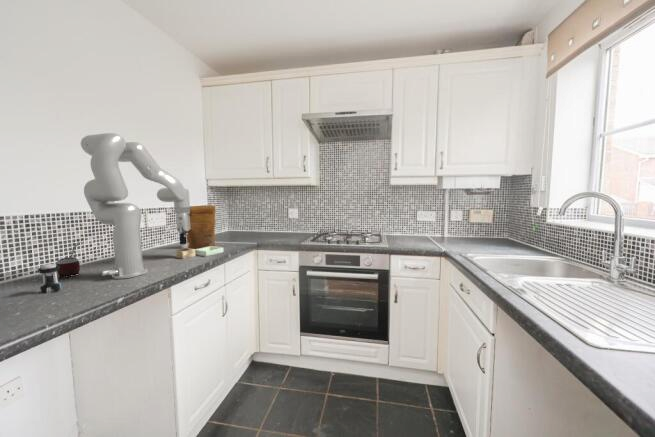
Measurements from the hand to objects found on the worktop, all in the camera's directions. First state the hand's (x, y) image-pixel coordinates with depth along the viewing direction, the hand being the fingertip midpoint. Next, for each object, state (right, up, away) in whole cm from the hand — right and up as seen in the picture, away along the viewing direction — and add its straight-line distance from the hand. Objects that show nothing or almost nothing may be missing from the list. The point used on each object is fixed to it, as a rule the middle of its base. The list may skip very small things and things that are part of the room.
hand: (184, 243), depth 142 cm
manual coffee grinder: (-32, -12, -31) cm, 46 cm away
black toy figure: (-22, -13, -49) cm, 55 cm away
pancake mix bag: (-2, -6, +25) cm, 26 cm away
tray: (+10, -7, +8) cm, 15 cm away
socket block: (0, -8, +1) cm, 8 cm away
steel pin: (0, -5, 0) cm, 5 cm away
